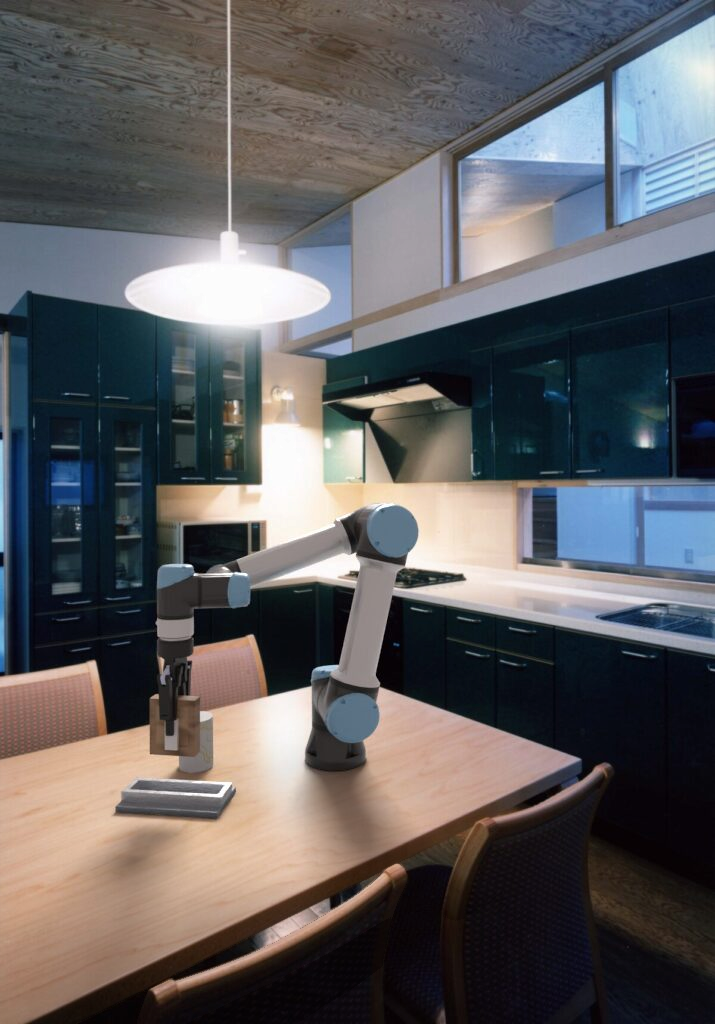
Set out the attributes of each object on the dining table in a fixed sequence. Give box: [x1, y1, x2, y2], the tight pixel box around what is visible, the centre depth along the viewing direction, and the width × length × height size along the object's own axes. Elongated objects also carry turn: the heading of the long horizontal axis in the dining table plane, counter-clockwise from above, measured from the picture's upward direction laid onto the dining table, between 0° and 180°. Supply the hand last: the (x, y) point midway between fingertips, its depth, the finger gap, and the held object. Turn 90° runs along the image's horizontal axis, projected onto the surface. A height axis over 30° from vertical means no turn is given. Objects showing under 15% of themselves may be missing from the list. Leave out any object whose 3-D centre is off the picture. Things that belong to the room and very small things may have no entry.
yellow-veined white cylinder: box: [178, 710, 214, 774], centre depth 159 cm, size 8×8×12 cm
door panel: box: [149, 693, 201, 757], centre depth 140 cm, size 10×3×12 cm, turn 83°
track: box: [114, 777, 237, 820], centre depth 140 cm, size 22×12×3 cm, turn 83°
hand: (175, 745), depth 140 cm, fingers closed on door panel, 3 cm apart
